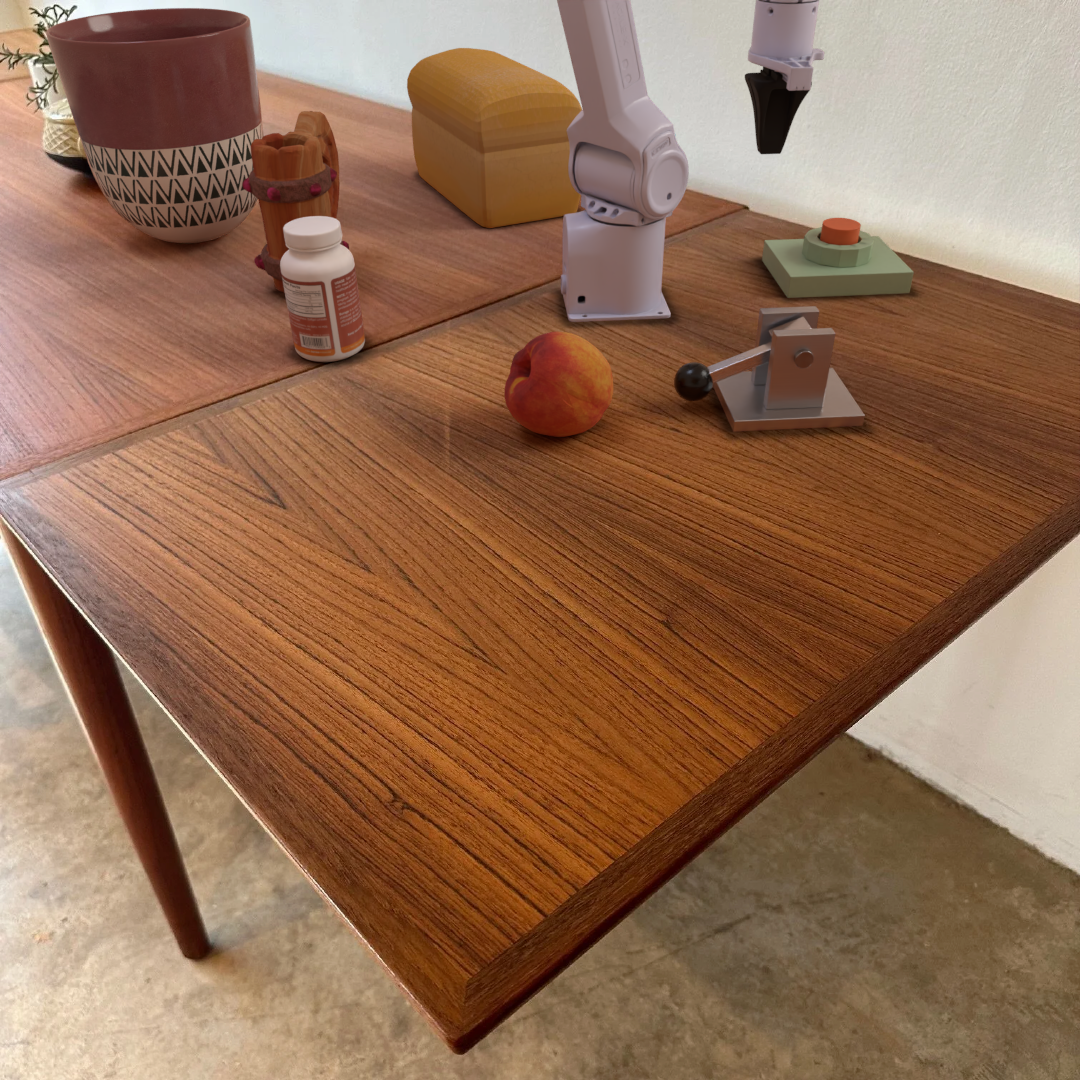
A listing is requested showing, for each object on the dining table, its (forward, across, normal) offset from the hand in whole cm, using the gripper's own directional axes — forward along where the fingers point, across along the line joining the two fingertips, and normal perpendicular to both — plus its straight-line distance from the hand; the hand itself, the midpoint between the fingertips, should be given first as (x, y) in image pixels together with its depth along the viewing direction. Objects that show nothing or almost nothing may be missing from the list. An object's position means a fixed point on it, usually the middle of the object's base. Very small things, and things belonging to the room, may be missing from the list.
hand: (769, 152), depth 100 cm
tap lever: (+8, -33, +9) cm, 35 cm away
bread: (+11, +24, +27) cm, 38 cm away
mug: (+11, -2, +46) cm, 47 cm away
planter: (+11, +12, +61) cm, 63 cm away
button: (+7, -7, -6) cm, 11 cm away
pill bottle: (+11, -19, +43) cm, 48 cm away
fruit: (+11, -35, +24) cm, 44 cm away
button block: (+10, -7, -6) cm, 14 cm away
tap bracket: (+10, -33, +6) cm, 35 cm away
